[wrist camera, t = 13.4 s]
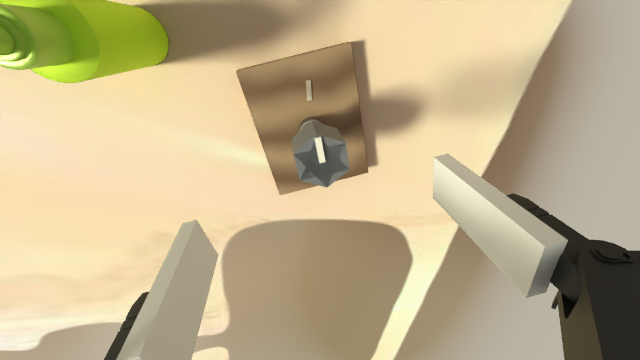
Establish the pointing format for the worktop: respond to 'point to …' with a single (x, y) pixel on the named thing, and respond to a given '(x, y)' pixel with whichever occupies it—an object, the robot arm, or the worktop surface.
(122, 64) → the soap dispenser
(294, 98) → the wooden board with bolt
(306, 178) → the knob
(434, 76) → the worktop surface
